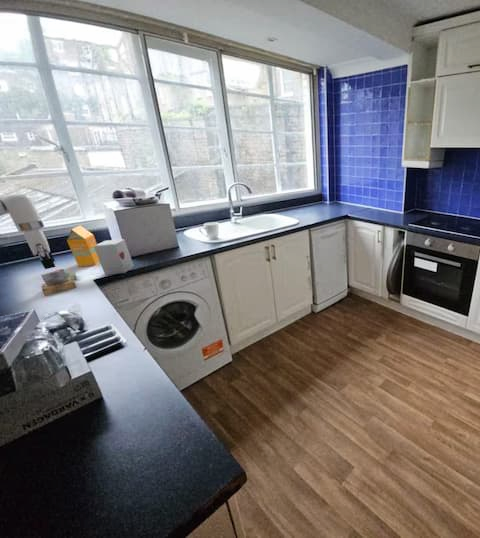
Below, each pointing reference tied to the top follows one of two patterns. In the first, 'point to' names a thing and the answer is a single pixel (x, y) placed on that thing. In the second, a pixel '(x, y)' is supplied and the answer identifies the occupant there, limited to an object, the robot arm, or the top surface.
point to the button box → (71, 275)
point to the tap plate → (58, 287)
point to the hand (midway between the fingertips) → (50, 265)
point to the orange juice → (83, 246)
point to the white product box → (114, 256)
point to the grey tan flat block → (54, 277)
